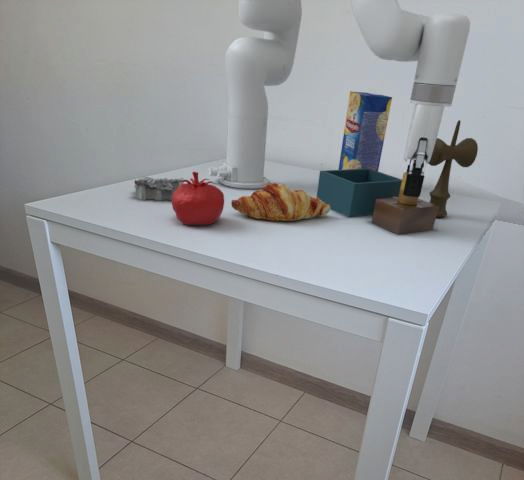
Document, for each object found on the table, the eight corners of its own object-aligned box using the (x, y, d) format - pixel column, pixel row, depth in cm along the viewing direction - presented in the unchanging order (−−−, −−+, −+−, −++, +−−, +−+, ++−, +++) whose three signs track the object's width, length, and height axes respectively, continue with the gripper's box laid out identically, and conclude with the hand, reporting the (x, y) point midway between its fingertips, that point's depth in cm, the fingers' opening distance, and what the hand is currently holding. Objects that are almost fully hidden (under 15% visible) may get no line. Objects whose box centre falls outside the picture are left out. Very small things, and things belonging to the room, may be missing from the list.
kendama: (460, 218, 110) (487, 123, 100) (424, 219, 107) (449, 121, 97) (443, 211, 115) (468, 118, 105) (409, 212, 112) (431, 117, 102)
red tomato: (223, 230, 91) (225, 179, 86) (170, 228, 90) (168, 176, 85) (223, 215, 99) (224, 167, 94) (174, 212, 98) (172, 164, 93)
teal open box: (349, 217, 105) (354, 183, 101) (315, 201, 114) (319, 170, 110) (398, 211, 112) (405, 180, 108) (363, 197, 121) (369, 168, 117)
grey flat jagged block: (133, 200, 104) (131, 180, 102) (138, 191, 111) (137, 172, 108) (183, 202, 105) (182, 183, 103) (185, 193, 111) (185, 175, 109)
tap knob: (407, 205, 97) (414, 175, 94) (393, 200, 100) (399, 170, 97) (421, 204, 99) (428, 174, 96) (407, 198, 102) (414, 170, 99)
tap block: (397, 234, 97) (403, 208, 94) (371, 222, 103) (375, 197, 100) (433, 230, 101) (439, 205, 99) (405, 218, 107) (411, 194, 104)
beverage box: (359, 180, 137) (374, 93, 126) (374, 190, 128) (392, 97, 117) (336, 179, 136) (350, 91, 124) (350, 189, 127) (365, 95, 115)
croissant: (321, 227, 108) (320, 191, 107) (339, 219, 98) (339, 179, 98) (228, 226, 103) (226, 187, 102) (237, 216, 93) (236, 174, 92)
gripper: (411, 91, 97) (394, 180, 106) (410, 96, 83) (390, 198, 91) (450, 95, 95) (429, 184, 104) (456, 100, 81) (431, 203, 90)
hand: (411, 190), depth 98 cm, fingers open, 9 cm apart
